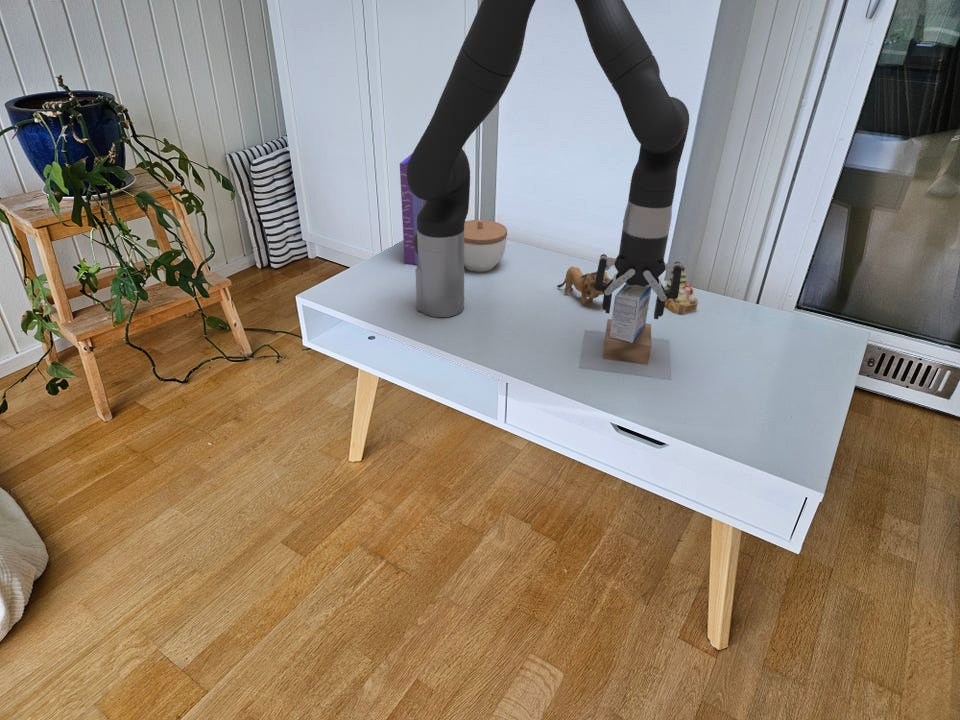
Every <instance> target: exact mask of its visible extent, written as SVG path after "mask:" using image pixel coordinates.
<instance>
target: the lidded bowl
mask: <svg viewBox="0 0 960 720" xmlns="http://www.w3.org/2000/svg"><path fill="white" fill-rule="evenodd" d="M507 236H508V228H507V227H506V225H504V224H503V223H500V222H496V221H494V220H487V219H486V220H485V219H472V220H471V219H470V220H465V223H464V268H466V269H467V270H468V271H471V272H480V273H481V272H482V273H483V272H488V271H491V270H492V269H494V268H495V267H496V265H498V264H499V262H500V261H501V260H502V258H503V256H504V253H505V251H506V247H507Z"/></svg>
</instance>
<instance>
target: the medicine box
mask: <svg viewBox="0 0 960 720" xmlns="http://www.w3.org/2000/svg"><path fill="white" fill-rule="evenodd" d="M652 290H653V289H652V287H651V286H650V285H647V286H646V287H643V286H639V285H628V284H627V283H624V284H623V285H622V287H621V289H620V290H619V291H618V292H617V293H616V294H615V295H614V299H613V306H612V307H613V308H612V316H611V319H612V321H611V329H610V337H611V338H614V339H618V340H622V341H626V342H630V343H633V342H634V340H635V339H636V337H637V336H638V335H639V333H640V332H641V330H642V329H643V327H644V326H645V324H646V323H647V318H648V310H649V307H650V306H649V305H650V300H651V294H652Z"/></svg>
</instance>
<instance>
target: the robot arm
mask: <svg viewBox="0 0 960 720" xmlns="http://www.w3.org/2000/svg"><path fill="white" fill-rule="evenodd" d="M536 1H537V0H481V3H480V5H479V7H478V9H477V11H476V14H475V16H474V19H473V21H472V23H471V25H470V27H469V29H468V32H467V34H466V37H465V39H464V41H463V43H462V46H461V47H460V49H459V52H458V55H457V56H456V60H455V62H454V64H453V67H452V70H451V72H450V75H449V77H448V80H447V82H446V84H445V87H444V88H443V91H442V93H441V96H440V97H439V101H438V102H437V106H436V107H435V110H434V111H433V112H434V113H433V114H432V117H431V119H430V121H429V123H428V125H427V127H426V128H425V130H424V132H423V134H422V136H421V137H420V139H419V141H418V143H417V145H416V146H415V148H414V149H413V152H412V153H411V154H412V155H411V154H410V155H411V157H410V159H409V162H408V165H407V182H408V185H409V188H410V190H411V191H412V193H413V194H414V195H415V196H416V197H418V198H420V199H422V200H427V201H426V203H425V205H424V207H423V208H422V210H421V211H420V212H419V214H418V216H417V239H418V264H419V265H418V266H417V265H416V268H415V291H416V292H415V294H416V312H420V313H421V312H422V313H423V314H425V315H426V316H430V317H435V318H448V317H449V318H450V317H454V316H456V315H458V314H461V313H462V312H463V311H464V309H465V266H464V223H465V221H466V219H467V216H468V214H469V208H470V207H469V206H470V191H471V189H470V187H471V169H470V168H471V167H470V162H469V158H468V155H467V154H466V152H465V151H464V149H463V148H464V145H466V143H467V141H468V139H469V138H470V137H471V136H472V134H473V133H474V132H475V131H476V130H477V129H478V127H479V126H480V125H481V124H482V123H483V121H484V120H485V119H486V118H487V117H488V116H489V114H491V112H492V111H493V110H494V108H495V107H496V105H498V103H499V102H500V100H501V99H502V96H503V95H504V93H505V92H506V89H507V88H508V85H509V83H510V81H511V79H512V77H513V76H514V73H515V72H516V68H517V67H518V63H519V61H520V58H521V54H522V51H523V48H524V47H523V46H524V42H525V38H526V37H525V36H526V33H527V27H528V21H529V18H530V16H531V12H532V10H533V7H534V4H535V3H536ZM574 2H575V4H576V7H577V9H578V11H579V14H580V16H581V20H582V23H583V26H584V29H585V32H586V35H587V39H588V41H589V44H590V47H591V49H592V52H593V54H594V56H595V59H596V60H597V62H598V64H599V65H600V68H601V70H602V71H603V72H604V75H605V76H606V78H607V80H608V81H609V83H610V84H611V87H612V88H613V90H614V91H615V92H616V95H617V96H618V100H619V101H620V104H621V107H622V110H623V112H624V115H625V117H626V120H627V123H628V124H629V127H630V130H631V131H632V133H633V135H634V137H635V139H636V140H637V141H638V143H639V144H640V147H639V153H638V159H637V162H636V165H635V166H634V169H633V171H632V173H631V174H632V175H631V179H630V186H629V193H628V200H627V203H626V208H625V211H624V215H623V216H624V217H623V220H622V228H621V229H622V231H621V236H620V244H619V251H618V255H617V257H616V258H615V257H614V258H613V257H608V256H607V254H605V253H603V254H601V255H599V260H598V261H599V262H598V267H597V271H596V272H597V276H596V281H595V287H594V288H595V290H596V291H601V292H603V299H602V307H601V308H602V310H603V311H605V314H610V310H611V304H612V297H613V292H615V291H616V290H617V289H619V288H621V286H623V285H625V284H626V283H627V284H628V285H639V286H643V287H646V286H647V285H650V286H651V287H652V289H651V290H652V291H653V293H655V295H656V299H657V300H655V306H654V311H653V319H654V320H659V317H662V316H663V315H664V311H665V308H664V307H665V302H666V300H668V299H677V298H678V294H679V286H680V279H681V271H682V269H681V265H682V263H681V262H680V261H675V262H674V263H666V262H665V255H666V250H667V245H668V239H669V234H670V228H671V225H672V224H671V222H672V218H673V217H672V216H673V214H672V213H673V202H674V198H675V191H676V185H677V179H678V178H677V177H678V171H679V166H680V163H681V159H682V155H683V152H684V147H685V144H686V140H687V135H688V132H689V125H690V114H689V110H688V108H687V106H686V105H685V103H684V102H683V101H682V100H681V99H679V98H677V97H674V96H670V95H669V92H668V91H667V89H666V87H665V85H664V82H663V80H662V79H661V75H660V74H661V71H660V66H659V64H658V61H657V59H656V56H655V55H653V51H652V50H651V48H650V46H649V44H648V42H647V41H646V39H645V38H644V34H642V32H641V30H640V28H639V26H638V24H637V22H636V21H635V19H634V18H633V15H632V14H631V12H630V11H629V8H628V7H627V4H626V2H625V1H624V0H574ZM613 266H614V268H615V269H616V271H617V272H616V274H614V275H613V276H612V278H610V279H611V280H610V281H609V282H608V283H605V282H603V278H604V273H605V272H606V271H609V270H610V269H611V267H613ZM665 271H666V272H667V273H668V274H667V275H668V276H669V278H670V277H672V281H671V289H667V290H665V288H664V287H665V286H664V285H663V283H662V281H661V279H660V276H661V275H662V274H663V273H664V272H665Z"/></svg>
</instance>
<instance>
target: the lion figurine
mask: <svg viewBox="0 0 960 720" xmlns="http://www.w3.org/2000/svg"><path fill="white" fill-rule="evenodd" d="M607 272H608V271H605V273H604V278H603V282H605V283H608V282H609V281H610V280H611V279H612V278H609V276H608V273H607ZM596 276H597V271H595V272H590V273H588V272H587V273H585V274H583V273H582V271H581V269H580V268H579V267H575V266H570V267H569V268H568V269H567V271H566V273H565V278H564V281H563V282H562V283H559V284H557V285H556V287H557V288H559V289H560V288H562V287H563V286H565V287H564V294H563V296H566V297H569V296H570V295H569V292H573V291H574V288H575V290H576V291H578V292H579V293H580V295H581V299H580V300H581V301H580V302H581V306H586V304H587V303H586V302H587V299H588V303H592V302H593V300H594V299H597V298H599V297H600V296H602V295H603V296H604V294H603V292H601V291H596V290H595V288H594V287H595V281H596ZM573 287H574V288H573Z"/></svg>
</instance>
